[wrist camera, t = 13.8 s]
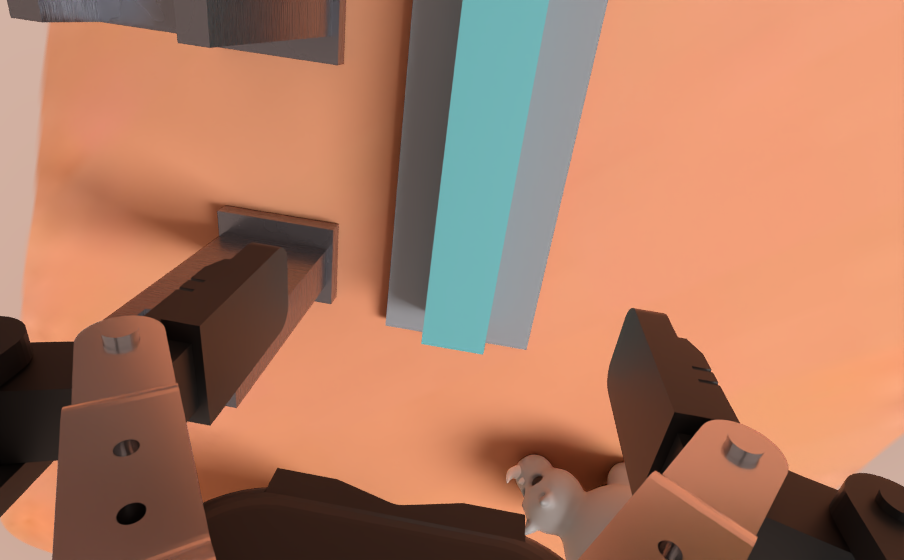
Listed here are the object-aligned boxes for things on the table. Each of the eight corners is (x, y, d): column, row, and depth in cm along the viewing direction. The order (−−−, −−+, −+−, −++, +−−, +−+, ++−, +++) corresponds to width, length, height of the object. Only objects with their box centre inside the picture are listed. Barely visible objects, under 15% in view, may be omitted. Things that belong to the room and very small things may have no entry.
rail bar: (478, -70, 24) (472, -83, 20) (556, -59, 23) (562, -71, 20) (430, 312, 33) (421, 343, 30) (486, 322, 33) (483, 354, 29)
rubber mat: (425, -115, 24) (423, -119, 23) (626, -88, 23) (629, -91, 23) (388, 319, 34) (385, 325, 33) (526, 342, 34) (526, 349, 33)
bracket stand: (206, -68, 26) (-36, -134, 14) (347, -48, 25) (211, -100, 14) (230, 278, 34) (91, 403, 23) (336, 296, 34) (246, 432, 23)
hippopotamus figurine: (551, 397, 39) (508, 462, 32) (710, 495, 35) (703, 593, 28) (514, 464, 42) (468, 537, 35) (656, 560, 38) (638, 663, 31)
